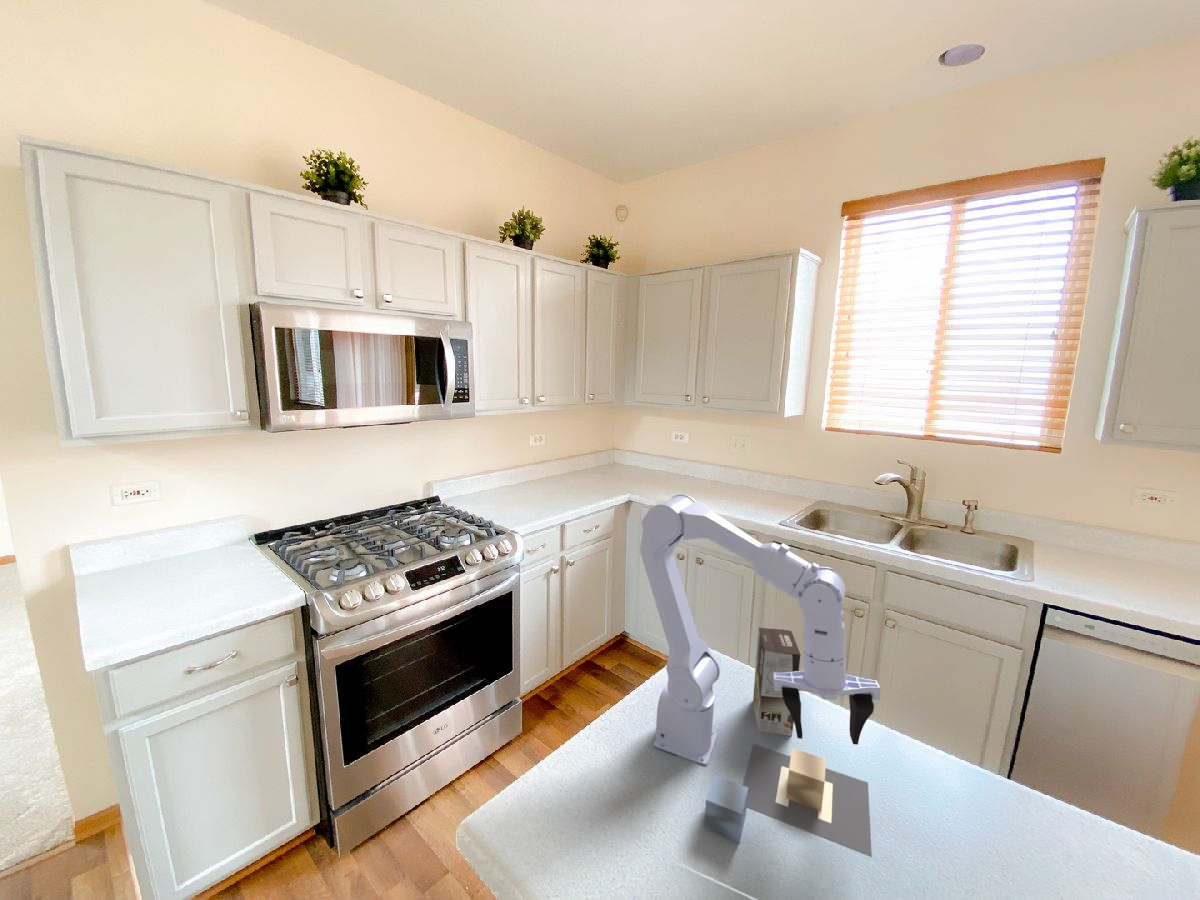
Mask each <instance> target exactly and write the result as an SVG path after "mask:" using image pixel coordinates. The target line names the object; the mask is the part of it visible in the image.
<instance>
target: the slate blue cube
mask: <svg viewBox="0 0 1200 900" xmlns="http://www.w3.org/2000/svg"><path fill="white" fill-rule="evenodd" d="M747 798H748V787H745V786H743V784H740V783H737V782H734V781H732V780H729V779H726V778H724V777H722V776H719V775H715V774H714V775H713V778H712V781H711V784H710V787H709V790H708V792H707V796H706V799H705V810H704V825H703V828H704V829H705V830H707V831H709V832H711V833H714V834H716V835H718V836H720V837H722V838H726V839H727V840H730V841H733V842H735V843H737V844H740V843H741V839H742V835H743V830H744V825H745V822H746V819H747V818H746V817H747V809H748V808H747Z"/></svg>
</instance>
